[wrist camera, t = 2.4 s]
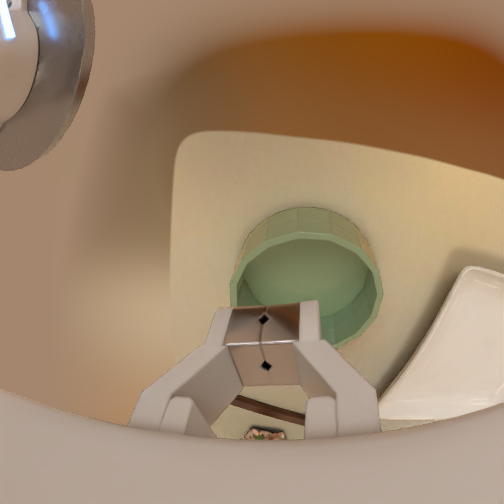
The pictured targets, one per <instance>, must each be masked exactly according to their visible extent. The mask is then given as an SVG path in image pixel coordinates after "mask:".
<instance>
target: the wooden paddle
mask: <svg viewBox="0 0 504 504" xmlns="http://www.w3.org/2000/svg"><path fill="white" fill-rule="evenodd" d="M230 404H231V405H234V406H237V407H240V408H243V409H246V410H250V411H253V412H256V413H259V414H263V415H266V416H270V417H273V418H277V419H280V420H284V421H288V422H291V423H295V424H299V425H303V426H305V416H306V415H303V414H299V413H296V412H292V411H288V410H285V409H281V408H278V407H274V406H271V405H268V404H265V403H261V402H258V401H255V400H252V399H249V398H246V397H243V396H240V395H237V396H236V398H235V399H234V400H233V401H232V402H231V403H230Z"/></svg>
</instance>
